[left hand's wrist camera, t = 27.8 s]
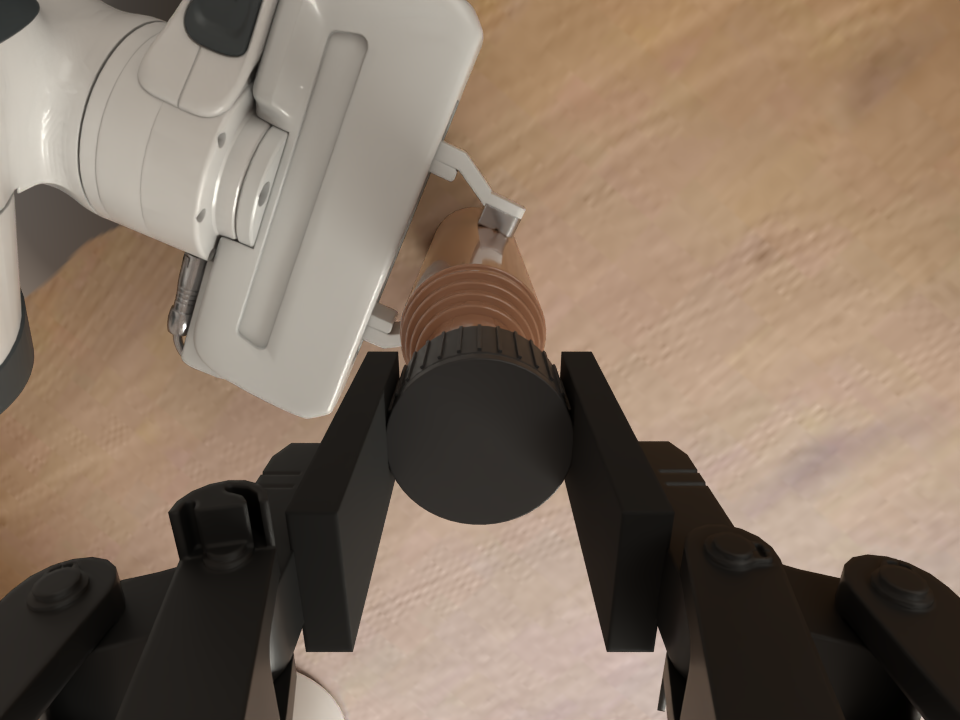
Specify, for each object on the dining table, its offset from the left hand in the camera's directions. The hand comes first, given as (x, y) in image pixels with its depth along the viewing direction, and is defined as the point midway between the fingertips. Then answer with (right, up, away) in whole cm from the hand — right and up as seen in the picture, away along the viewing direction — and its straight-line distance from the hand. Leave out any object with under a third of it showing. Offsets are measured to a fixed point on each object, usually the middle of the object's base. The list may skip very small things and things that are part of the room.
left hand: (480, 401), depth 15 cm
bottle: (0, +8, +19) cm, 20 cm away
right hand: (0, +5, +13) cm, 14 cm away
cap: (0, -1, -2) cm, 2 cm away
